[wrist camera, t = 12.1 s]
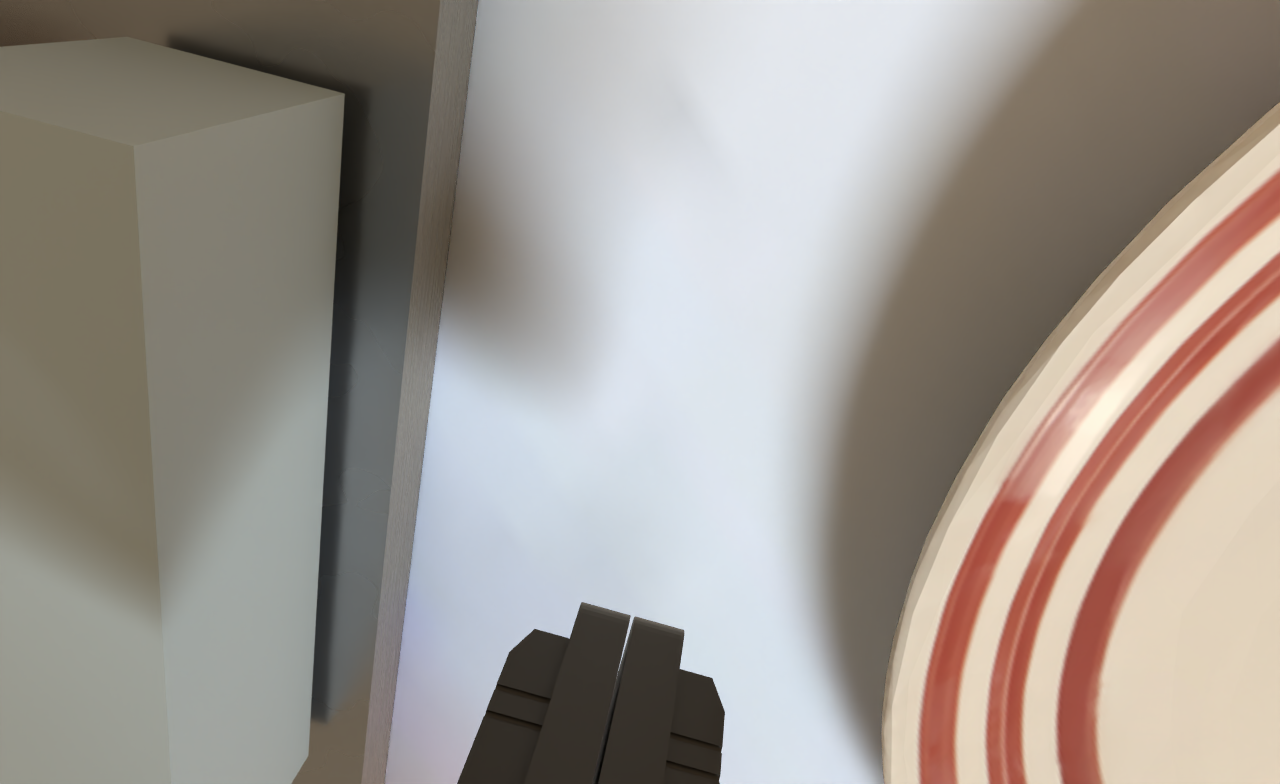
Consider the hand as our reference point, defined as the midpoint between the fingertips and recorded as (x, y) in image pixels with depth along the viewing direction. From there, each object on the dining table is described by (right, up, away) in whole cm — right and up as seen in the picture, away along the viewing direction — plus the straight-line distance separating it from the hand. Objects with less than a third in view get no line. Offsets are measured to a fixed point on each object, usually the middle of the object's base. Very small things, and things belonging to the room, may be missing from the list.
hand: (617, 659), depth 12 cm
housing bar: (-6, +2, +2) cm, 7 cm away
